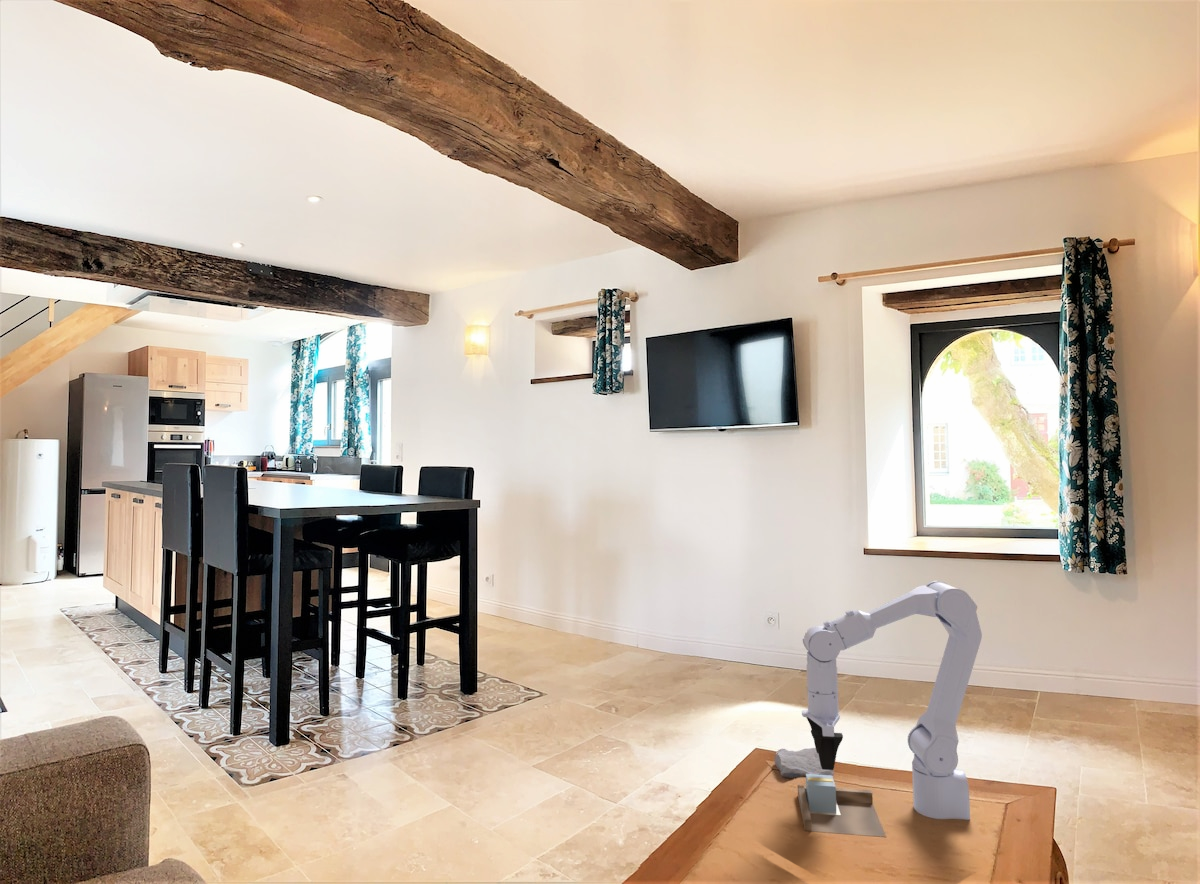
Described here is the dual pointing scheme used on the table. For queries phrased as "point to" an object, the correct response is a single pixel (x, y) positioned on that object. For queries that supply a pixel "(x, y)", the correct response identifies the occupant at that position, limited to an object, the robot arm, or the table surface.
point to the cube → (821, 793)
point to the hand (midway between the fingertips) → (824, 760)
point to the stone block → (799, 763)
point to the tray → (844, 814)
